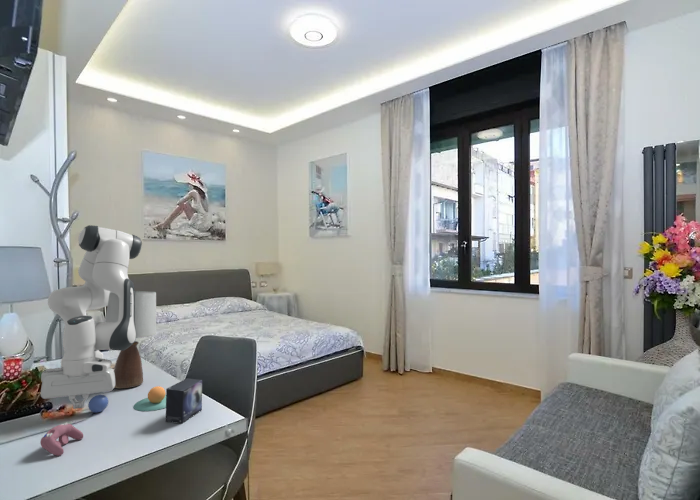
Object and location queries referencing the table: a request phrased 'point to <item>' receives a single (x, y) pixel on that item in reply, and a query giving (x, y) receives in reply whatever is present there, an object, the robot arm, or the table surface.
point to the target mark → (150, 405)
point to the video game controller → (61, 433)
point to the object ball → (156, 394)
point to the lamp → (145, 323)
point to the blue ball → (98, 403)
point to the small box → (183, 400)
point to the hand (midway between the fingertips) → (79, 407)
